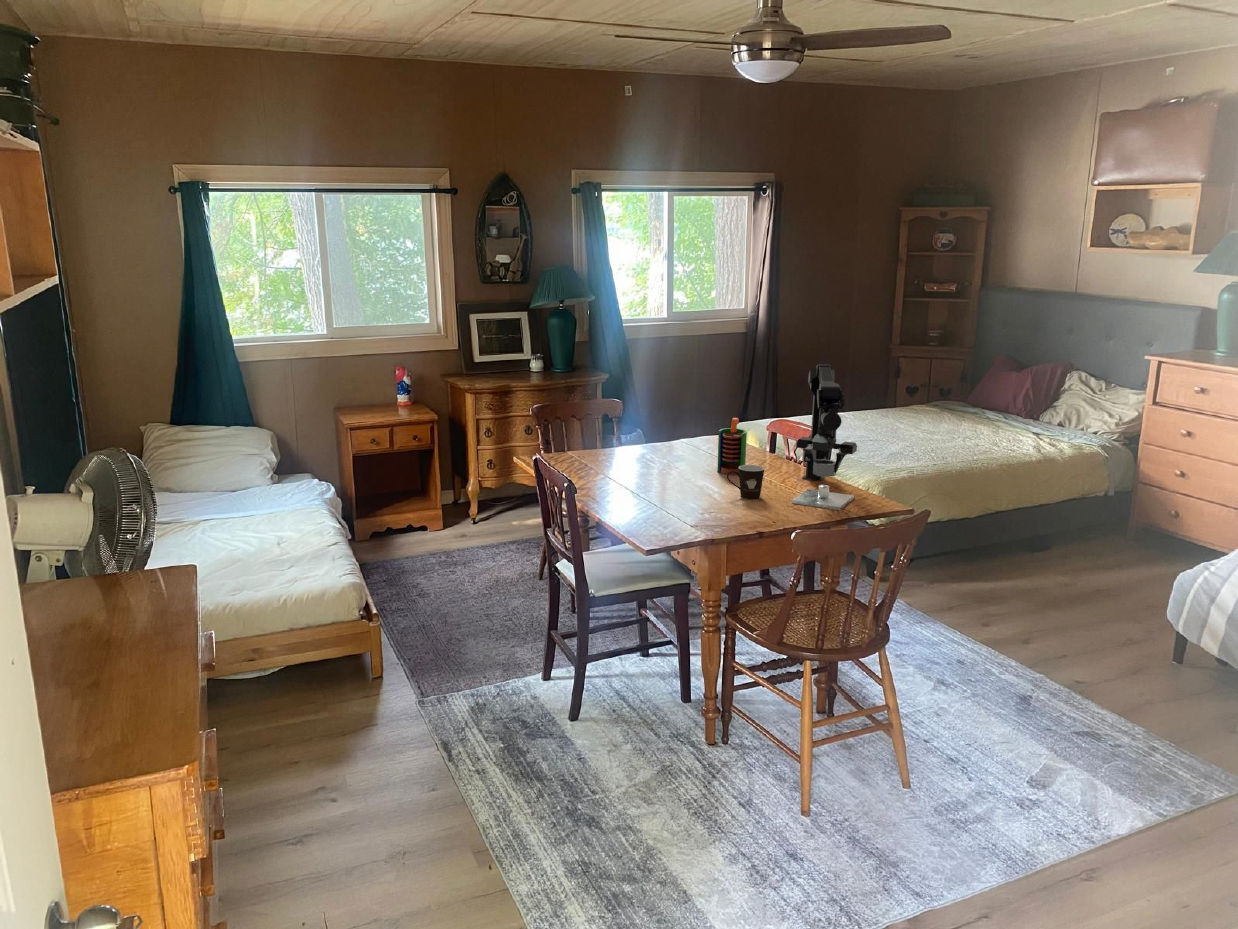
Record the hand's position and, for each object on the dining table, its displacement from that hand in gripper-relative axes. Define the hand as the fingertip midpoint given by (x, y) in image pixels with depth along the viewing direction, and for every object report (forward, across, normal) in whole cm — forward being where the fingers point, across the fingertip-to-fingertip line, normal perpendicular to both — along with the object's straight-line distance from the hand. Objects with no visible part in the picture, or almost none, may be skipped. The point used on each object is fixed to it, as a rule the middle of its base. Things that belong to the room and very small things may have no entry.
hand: (824, 470), depth 309 cm
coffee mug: (+10, -24, -8) cm, 27 cm away
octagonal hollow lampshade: (+1, 0, 0) cm, 1 cm away
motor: (+10, -41, +20) cm, 47 cm away
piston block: (+10, 0, 0) cm, 10 cm away
